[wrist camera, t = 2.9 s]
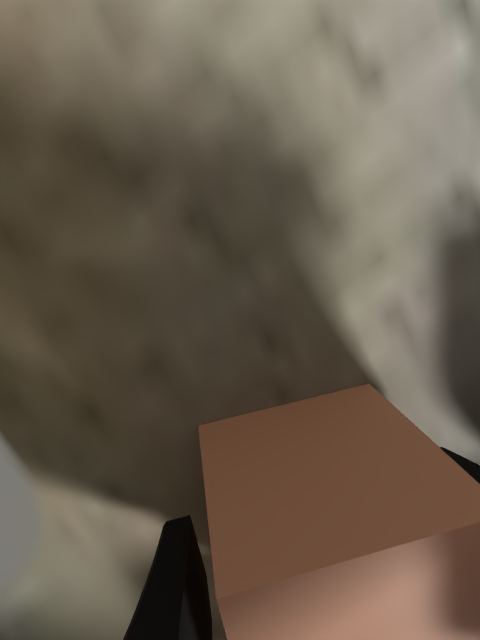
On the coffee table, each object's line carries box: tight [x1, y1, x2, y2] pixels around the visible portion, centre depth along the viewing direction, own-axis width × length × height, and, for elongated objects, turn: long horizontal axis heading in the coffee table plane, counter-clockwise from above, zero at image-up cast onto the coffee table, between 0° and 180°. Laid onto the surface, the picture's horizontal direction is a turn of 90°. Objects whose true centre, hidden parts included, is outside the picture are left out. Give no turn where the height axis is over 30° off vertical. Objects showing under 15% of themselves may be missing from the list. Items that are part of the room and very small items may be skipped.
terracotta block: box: [198, 384, 480, 640], centre depth 9 cm, size 5×5×5 cm
